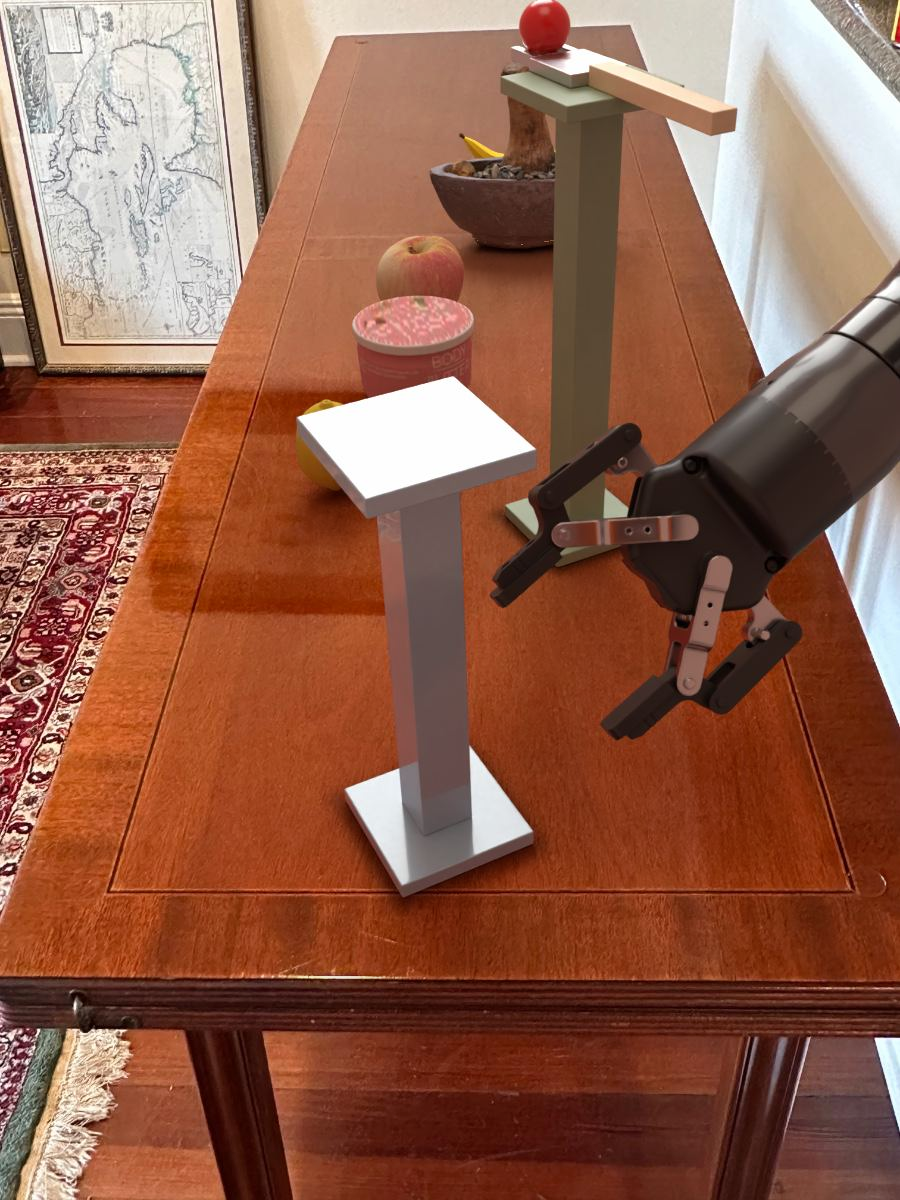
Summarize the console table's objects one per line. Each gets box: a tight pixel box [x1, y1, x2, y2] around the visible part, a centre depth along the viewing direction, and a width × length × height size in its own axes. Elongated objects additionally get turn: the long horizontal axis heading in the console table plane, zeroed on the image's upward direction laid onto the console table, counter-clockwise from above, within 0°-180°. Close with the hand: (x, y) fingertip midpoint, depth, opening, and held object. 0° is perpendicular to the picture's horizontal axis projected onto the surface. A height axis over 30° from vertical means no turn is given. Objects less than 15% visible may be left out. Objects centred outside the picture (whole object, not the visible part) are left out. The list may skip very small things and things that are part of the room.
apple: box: [375, 235, 465, 302], centre depth 119 cm, size 9×9×8 cm
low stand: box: [296, 377, 538, 898], centre depth 60 cm, size 8×8×25 cm
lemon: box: [294, 399, 344, 492], centre depth 94 cm, size 6×6×8 cm
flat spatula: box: [510, 0, 738, 137], centre depth 68 cm, size 20×4×4 cm, turn 26°
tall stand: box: [499, 57, 685, 568], centre depth 81 cm, size 8×8×32 cm
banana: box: [458, 132, 555, 159], centre depth 153 cm, size 3×19×6 cm, turn 95°
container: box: [351, 296, 475, 399], centre depth 105 cm, size 10×10×8 cm
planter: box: [429, 60, 555, 250], centre depth 131 cm, size 15×17×20 cm
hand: (552, 668), depth 58 cm, fingers open, 8 cm apart
